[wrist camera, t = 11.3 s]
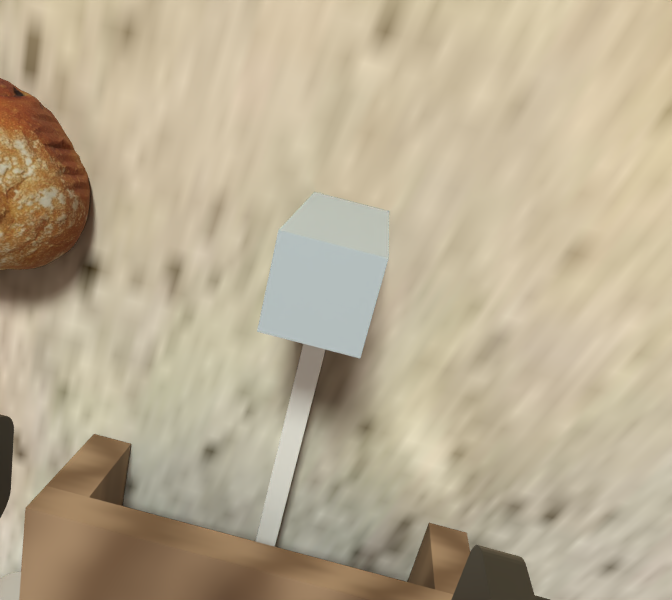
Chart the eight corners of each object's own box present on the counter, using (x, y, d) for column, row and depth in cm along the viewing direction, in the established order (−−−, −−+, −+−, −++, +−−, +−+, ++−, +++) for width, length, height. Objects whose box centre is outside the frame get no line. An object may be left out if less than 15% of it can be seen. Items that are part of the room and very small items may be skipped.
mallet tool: (389, 211, 29) (388, 258, 20) (302, 528, 36) (270, 675, 27) (314, 191, 29) (278, 229, 20) (241, 512, 36) (189, 653, 27)
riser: (466, 532, 35) (484, 630, 29) (420, 648, 38) (426, 759, 32) (94, 434, 35) (25, 507, 29) (80, 556, 39) (15, 648, 32)
